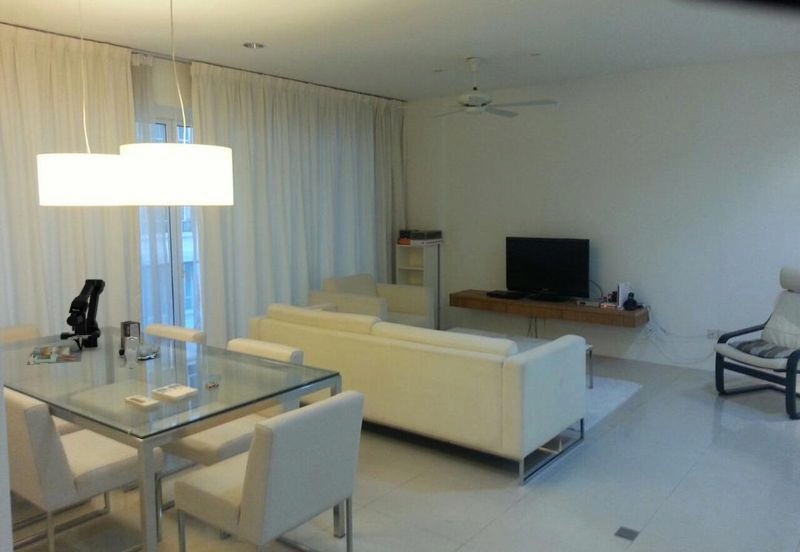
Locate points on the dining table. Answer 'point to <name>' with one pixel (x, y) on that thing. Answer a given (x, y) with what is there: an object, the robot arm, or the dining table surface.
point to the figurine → (144, 350)
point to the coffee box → (129, 331)
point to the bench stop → (36, 351)
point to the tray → (39, 359)
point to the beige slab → (61, 351)
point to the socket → (68, 357)
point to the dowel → (45, 353)
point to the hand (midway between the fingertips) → (80, 350)
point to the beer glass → (132, 350)
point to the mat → (78, 358)
